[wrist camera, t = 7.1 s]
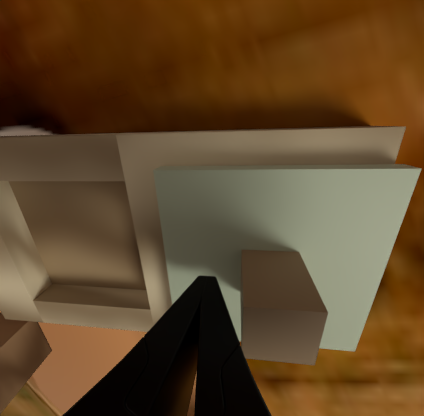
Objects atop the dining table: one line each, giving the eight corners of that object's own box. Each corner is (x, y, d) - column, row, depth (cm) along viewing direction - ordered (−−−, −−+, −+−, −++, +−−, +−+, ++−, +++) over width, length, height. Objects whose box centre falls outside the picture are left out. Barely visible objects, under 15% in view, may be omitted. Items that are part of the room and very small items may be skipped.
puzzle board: (323, 318, 14) (336, 348, 12) (31, 296, 16) (5, 319, 14) (371, 125, 9) (405, 126, 7) (-46, 137, 12) (-100, 140, 10)
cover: (347, 336, 11) (397, 433, 8) (180, 322, 12) (157, 401, 9) (403, 164, 8) (545, 199, 4) (160, 166, 9) (108, 195, 5)
